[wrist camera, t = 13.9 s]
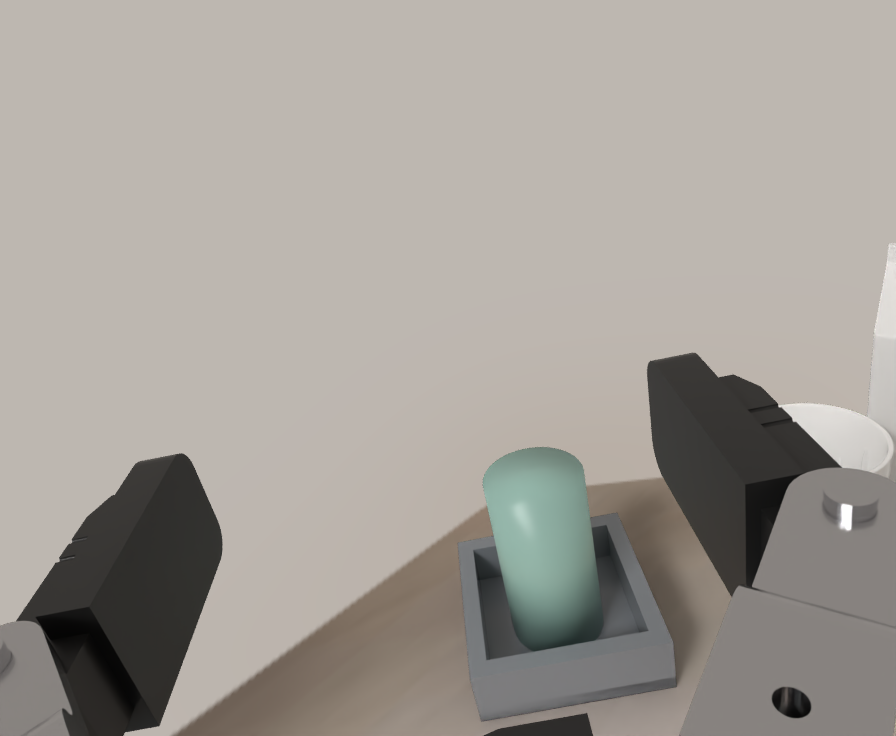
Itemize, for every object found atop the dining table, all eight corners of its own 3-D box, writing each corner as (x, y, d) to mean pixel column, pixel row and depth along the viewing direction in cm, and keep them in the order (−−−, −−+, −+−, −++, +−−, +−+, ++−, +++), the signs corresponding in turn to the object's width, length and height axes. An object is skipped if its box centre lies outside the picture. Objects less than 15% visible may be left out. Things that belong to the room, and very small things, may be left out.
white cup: (733, 526, 48) (730, 404, 43) (861, 529, 45) (873, 400, 41) (744, 614, 41) (742, 480, 37) (895, 623, 38) (913, 481, 34)
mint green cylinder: (520, 664, 40) (488, 517, 35) (507, 594, 45) (478, 458, 40) (614, 646, 40) (595, 496, 35) (591, 578, 45) (571, 439, 40)
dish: (481, 721, 38) (469, 678, 37) (466, 580, 48) (457, 542, 46) (676, 686, 38) (673, 642, 36) (621, 551, 47) (617, 512, 46)
